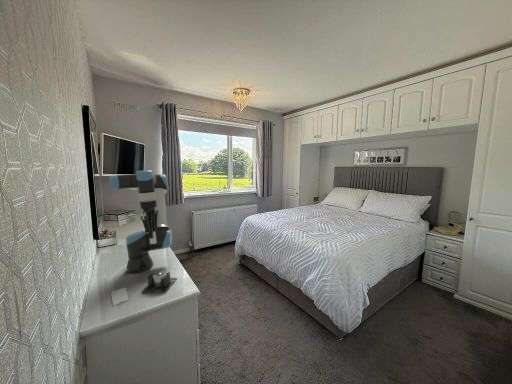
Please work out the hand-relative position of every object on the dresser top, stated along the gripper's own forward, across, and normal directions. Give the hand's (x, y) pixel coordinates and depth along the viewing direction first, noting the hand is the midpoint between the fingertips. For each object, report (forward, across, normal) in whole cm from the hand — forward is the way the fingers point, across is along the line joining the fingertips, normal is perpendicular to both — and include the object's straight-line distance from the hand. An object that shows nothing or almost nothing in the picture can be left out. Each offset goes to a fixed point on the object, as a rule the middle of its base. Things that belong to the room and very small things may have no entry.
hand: (153, 243), depth 114 cm
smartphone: (+24, +11, -15) cm, 30 cm away
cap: (+23, +2, +2) cm, 23 cm away
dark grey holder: (+24, +2, +2) cm, 24 cm away
